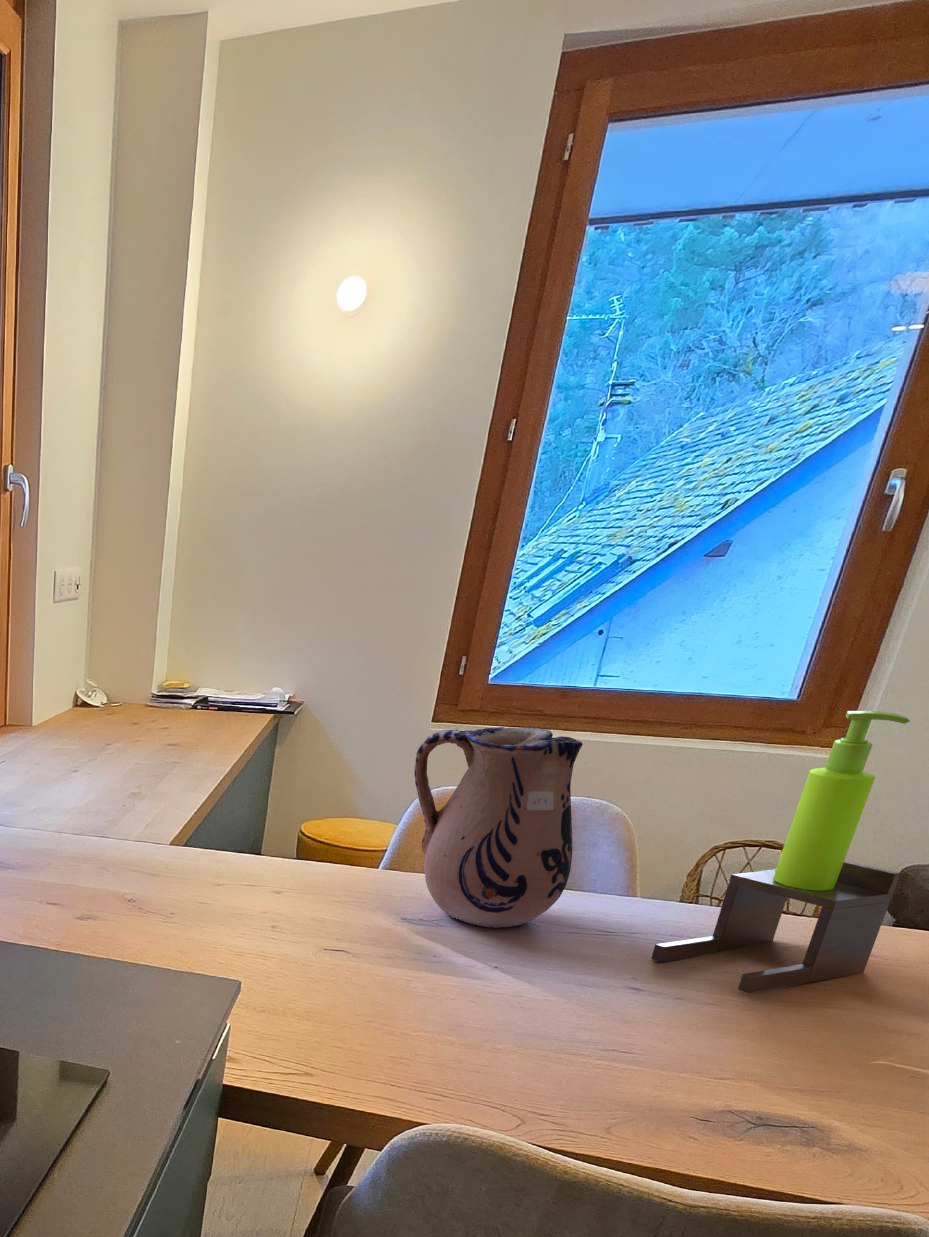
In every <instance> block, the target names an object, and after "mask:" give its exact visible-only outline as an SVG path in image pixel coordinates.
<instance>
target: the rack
mask: <svg viewBox="0 0 929 1237" xmlns="http://www.w3.org/2000/svg"><path fill="white" fill-rule="evenodd" d="M775 871H776V868H774V869H766V870H755V871H749V872H741V873H733V874H730V878H729V881H728V885H727V887H726V890H725V895H724V898H723V901H722V905H721V907H720V910H719V914H718V917H717V920H716V924H715V927H714V929H713V934H712V935H710V936H702V937H697V938H689V939H683V940H676V941H670V942H669V941H668V942H663V943H662V942H661V943H656V944H654V948H653V951H652V954H651V958H650V960H652V961H655V962H657V963H663V962H664V963H665V962H671V961H678V960H683V959H689V958H696V957H703V956H708V955H713V954H717V953H722V952H726V951H732V950H737V949H742V948H747V947H752V946H756V945H761V944H767V943H771V942H774V938H775V935H776V932H777V929H778V927H779V923H780V920H781V917H782V914H783V911H784V908H785V905H786V902H787V899H792V900H796V901H799V902H803V903H806V904H811V905H814V906H815V905H816V906H817V907H821V909H820V912H819V915H818V917H817V920H816V922H815V923H816V924H815V926H814V929H813V933H812V934H811V937H810V940H809V944H808V947H807V949H806V952H805V955H804V959H803V961H802V963H801V964H800V963H799V964H795V965H788V966H782V967H777V968H770V969H763V970H758V971H757V970H756V971H752V972H746V973H742V975H741V978H740V981H739V985H738V988H737V990H738V991H740V992H743V993H746V994H752V993H757V992H763V991H768V990H774V989H781V988H785V987H792V986H798V985H803V984H809V983H814V982H821V981H825V980H833V979H837V978H843V977H844V978H845V977H849V976H854V975H858V974H859V975H860V974H863V973H864V972H865V970H866V968H867V966H868V962H869V959H870V957H871V954H872V952H873V948H874V946H875V943H876V940H877V937H878V935H879V932H880V931H881V930H880V929H881V927H882V924H883V922H884V918H885V916H886V913H887V911H888V908H889V905H890V902H891V900H892V898H893V895H894V892H895V889H896V886H897V884H898V881H899V878H900V876H901V872H896V871H893V870H887V869H883V868H879V867H874V866H869V865H866V864H861V863H856V862H852V861H847V860H844V863H843V865H842V868H841V871H840V873H839V876H838V879H837V881H836V884H835V887H834V888H833V889H831V890H821V891H819V890H806V889H799V888H794V887H790V886H786V885H783V884H781V883H778V882H776V881H775V880H774V879H773V877H774V874H775Z"/></svg>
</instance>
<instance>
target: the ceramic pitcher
mask: <svg viewBox="0 0 929 1237" xmlns="http://www.w3.org/2000/svg"><path fill="white" fill-rule="evenodd" d="M553 735H554V734H553V732H552V730H550V729H543V728H538V727H504V726H502V727H500V726H499V727H484V728H479V729H474V730H473V729H465V730H461V729H457V728H456V729H442V730H439V731H436V732H434V733H432V734H430V735H429V736H428V737H427V738H426V739H425V740H424V741H423V742H422V743H421V744H420V746H419V747H418V749H417V751H416V753H415V755H416V757H415V763H414V783H415V786H416V787H415V788H416V792H417V797H418V799H417V800H418V802H419V805H420V808H421V811H422V814H423V818H424V820H423V821H424V823H425V830H424V834H423V837H422V839H421V847H422V848H421V849H422V852H423V854H424V865H423V866H424V868H423V871H424V878H425V884H426V887H427V890H428V892H429V894H430V896H431V898H432V899H433V901H434V902H435V904H436V905H437V906H438V907H439V908H440V909H441V910H442V911H443V912H444V913H445V914H447V915H448V916H449V915H450V916H451V918H452V919H455V918H456V919H455V920H457V919H459V920H458V921H460V920H461V921H460V922H462V921H464V922H463V923H465V922H467V923H466V924H468V923H469V924H468V925H472V924H473V925H472V926H475V925H477V926H476V927H484V928H490V929H491V928H494V929H498V928H513V927H518V926H520V925H524V924H526V923H528V922H531V921H532V920H534V919H536V918H538V917H539V916H541V915H542V914H544V913H545V912H547V911H548V910H550V909H551V907H552V906H554V904H555V903H556V902H557V901H558V900H559V899H560V897H561V896H562V894H563V893H564V890H565V888H566V886H567V884H568V881H569V877H570V873H571V868H572V858H573V848H574V847H573V820H572V819H573V817H572V816H573V815H572V795H571V793H572V792H571V791H572V790H571V785H572V776H573V770H574V764H575V762H576V760H577V758H578V756H579V753H580V750H581V748H582V747H583V742H582V740H581V741H580V740H577V739H576V738H573V737H570V736H563V735H560V736H557V737H553ZM449 743H450V744H454V745H456V746H457V747H458V748H459V749H462V751H463V754H464V756H465V761H466V763H467V769H466V771H465V773H464V774H463V776H462V778H461V779H460V782H459V783H458V785H457V786H456V788H455V790H454V791H453V792H452V794H451V796H450V797H449V799H448V800H447V802H446V804H444V805H443V806H442V807H441V809H439V810H437V807H436V805H435V800H434V796H433V794H432V789H431V786H430V783H429V782H430V781H429V777H428V759H429V755H430V754H431V752H432V751H433V750H434V749H436V747H437V746H441V745H443V744H449ZM450 916H449V917H450Z"/></svg>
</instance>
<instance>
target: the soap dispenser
mask: <svg viewBox="0 0 929 1237" xmlns="http://www.w3.org/2000/svg"><path fill="white" fill-rule="evenodd" d="M845 718H846V719H847V720H851V721H850V723H849V726H848V729H847V731H846V735H845V737H841V738H840V739H836V740H834V742H833V745H832V747H831V750H830V752H829V755H828V758H827V762H826V763H825V767H816V768H812V769H810V770H809V772H808V776H807V778H806V781H805V784H804V787H803V790H802V793H801V796H800V798H799V801H798V805H797V807H796V810H795V813H794V816H793V818H792V821H791V824H790V828H789V831H788V834H787V836H786V839H785V842H784V845H783V847H782V850H781V854H780V856H779V859H778V863H777V865H776V868H775V869H776V871H775V874H774V877H773V879H774V880H775V881H776V882H778V883H781V884H783V885H786V886H790V887H794V888H799V889H806V890H819V891H821V890H831V889H833V888H834V887H835V884H836V881H837V879H838V876H839V873H840V871H841V868H842V865H843V863H844V861H846V857H847V854H848V852H849V849H850V847H851V844H852V841H853V838H854V836H855V833H856V830H857V828H858V825H859V823H860V820H861V816H862V814H863V812H864V809H865V806H866V805H867V801H868V799H869V796H870V793H871V790H872V788H873V784H874V782H875V779H876V777H875V775H874V774H871V773H868V772H866V771H864V769H865V767H866V764H867V761H868V758H869V756H870V753H871V750H872V747H873V743H871V742H869V740H868V739H866V736H867V734H868V731H869V728H870V725H871V723H872V720H875V721H878V720H879V721H889V722H890V721H891V722H895V723H899V724H903V725H904V724H907V723H909V722H911V720H910V718H908V717H907V716H904V715H900V714H897V713H892V712H886V711H880V710H847V711H846V714H845Z"/></svg>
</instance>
